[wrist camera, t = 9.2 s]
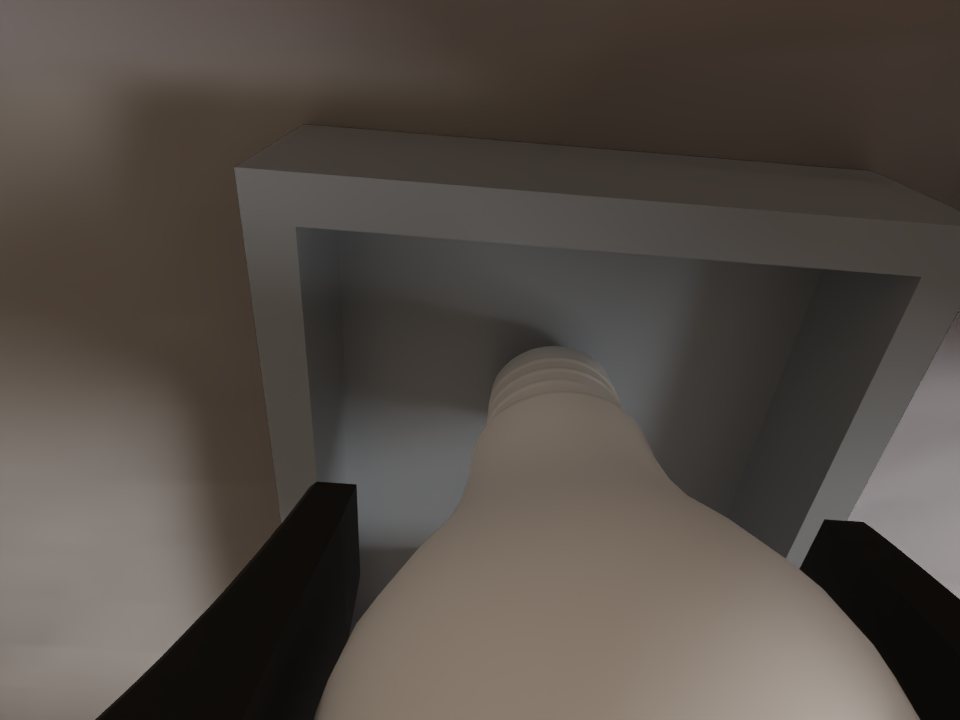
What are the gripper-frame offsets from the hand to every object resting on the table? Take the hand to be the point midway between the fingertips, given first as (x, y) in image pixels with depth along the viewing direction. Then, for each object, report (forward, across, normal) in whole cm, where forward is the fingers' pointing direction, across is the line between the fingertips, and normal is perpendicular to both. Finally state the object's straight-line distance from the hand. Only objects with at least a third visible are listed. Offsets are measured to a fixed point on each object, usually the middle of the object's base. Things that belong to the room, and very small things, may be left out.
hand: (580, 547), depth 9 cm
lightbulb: (+5, 0, 0) cm, 5 cm away
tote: (+5, 0, +3) cm, 6 cm away
